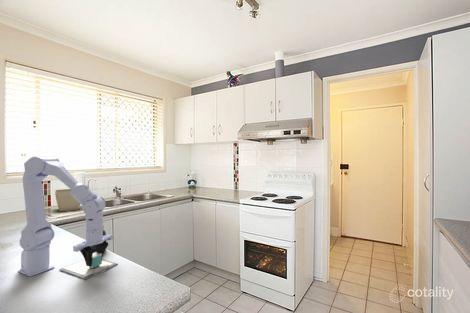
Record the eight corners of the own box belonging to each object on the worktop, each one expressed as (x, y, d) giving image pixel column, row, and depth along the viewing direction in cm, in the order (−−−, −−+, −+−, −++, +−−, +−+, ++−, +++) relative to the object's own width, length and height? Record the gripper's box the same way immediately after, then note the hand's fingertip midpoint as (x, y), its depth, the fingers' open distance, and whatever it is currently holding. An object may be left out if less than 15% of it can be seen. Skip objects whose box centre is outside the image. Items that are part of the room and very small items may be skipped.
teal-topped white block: (86, 268, 89) (86, 255, 89) (95, 264, 93) (95, 252, 93) (92, 270, 88) (92, 257, 88) (101, 266, 91) (101, 253, 91)
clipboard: (59, 270, 89) (59, 267, 89) (92, 257, 101) (92, 254, 101) (85, 279, 82) (85, 276, 82) (117, 264, 94) (117, 261, 94)
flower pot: (80, 206, 212) (80, 188, 212) (83, 209, 197) (83, 190, 198) (54, 209, 200) (54, 189, 200) (55, 213, 185) (55, 192, 185)
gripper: (81, 235, 82) (81, 274, 82) (117, 225, 95) (117, 258, 95) (69, 233, 85) (69, 270, 85) (106, 223, 98) (106, 255, 98)
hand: (94, 263), depth 90 cm, fingers closed on teal-topped white block, 4 cm apart
